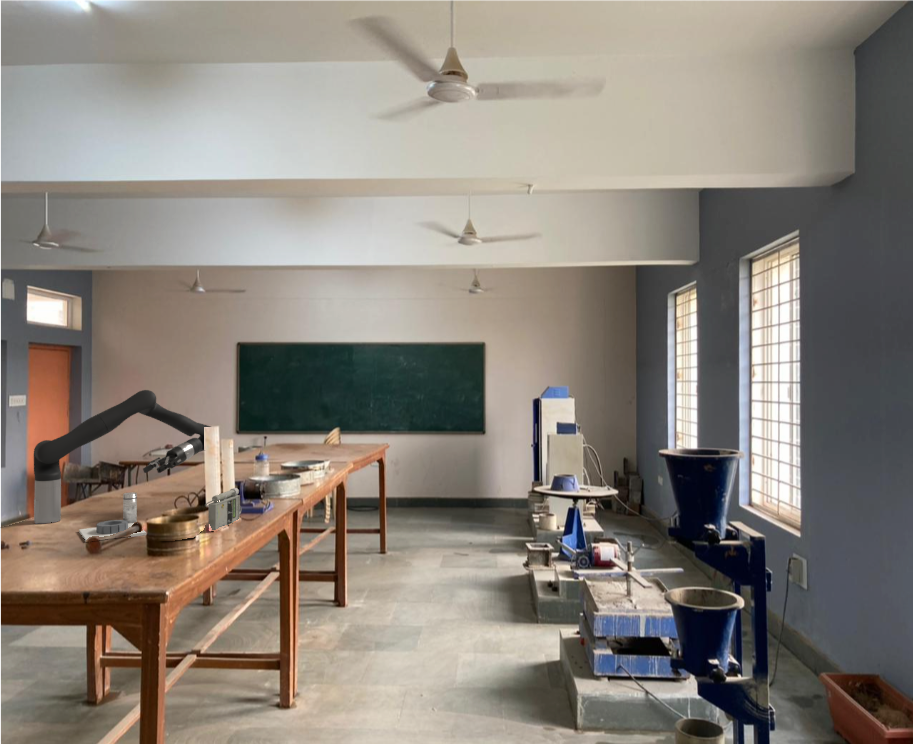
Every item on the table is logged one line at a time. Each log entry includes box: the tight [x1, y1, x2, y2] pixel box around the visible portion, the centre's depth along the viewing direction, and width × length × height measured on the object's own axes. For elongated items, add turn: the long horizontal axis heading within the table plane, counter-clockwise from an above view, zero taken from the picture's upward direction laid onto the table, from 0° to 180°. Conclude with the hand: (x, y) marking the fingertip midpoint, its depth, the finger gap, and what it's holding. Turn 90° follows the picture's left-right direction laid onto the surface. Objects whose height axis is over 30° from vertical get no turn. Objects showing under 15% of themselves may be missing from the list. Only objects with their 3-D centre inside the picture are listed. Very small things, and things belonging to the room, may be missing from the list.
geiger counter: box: [204, 487, 242, 530], centre depth 270 cm, size 14×6×25 cm
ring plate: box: [78, 519, 147, 542], centre depth 255 cm, size 20×20×4 cm
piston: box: [122, 491, 138, 524], centre depth 273 cm, size 5×5×12 cm
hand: (150, 470), depth 278 cm, fingers open, 8 cm apart
